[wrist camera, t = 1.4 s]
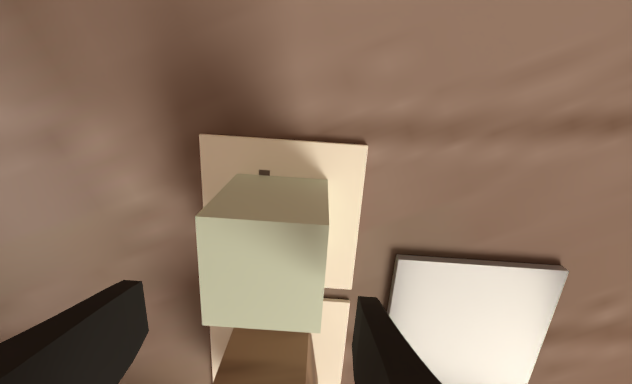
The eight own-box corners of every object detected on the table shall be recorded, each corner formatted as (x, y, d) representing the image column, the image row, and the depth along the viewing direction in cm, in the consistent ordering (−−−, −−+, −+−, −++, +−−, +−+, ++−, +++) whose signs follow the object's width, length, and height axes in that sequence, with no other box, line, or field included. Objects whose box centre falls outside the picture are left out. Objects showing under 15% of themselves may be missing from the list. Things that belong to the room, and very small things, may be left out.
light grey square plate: (517, 389, 22) (522, 396, 22) (375, 379, 22) (377, 386, 22) (561, 265, 19) (569, 271, 19) (396, 254, 19) (398, 259, 19)
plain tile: (337, 402, 23) (337, 406, 23) (215, 394, 23) (213, 397, 23) (349, 299, 20) (349, 303, 20) (209, 290, 20) (207, 293, 20)
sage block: (321, 259, 19) (320, 333, 13) (238, 253, 19) (202, 325, 13) (327, 179, 17) (329, 225, 12) (237, 173, 17) (195, 216, 12)
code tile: (351, 286, 20) (351, 289, 20) (208, 276, 20) (206, 279, 20) (367, 144, 17) (368, 145, 17) (201, 133, 17) (198, 134, 17)
